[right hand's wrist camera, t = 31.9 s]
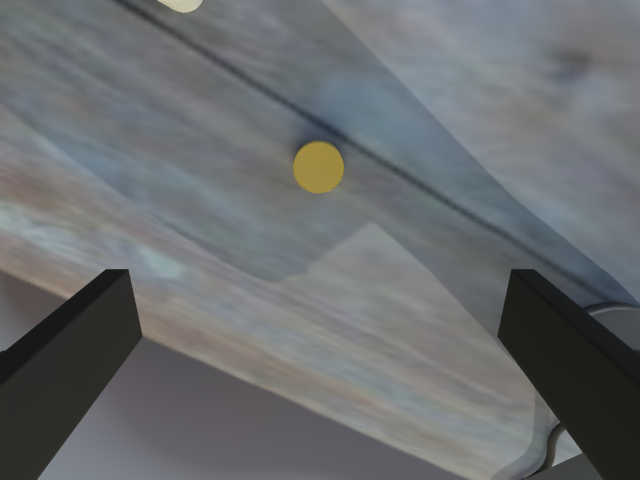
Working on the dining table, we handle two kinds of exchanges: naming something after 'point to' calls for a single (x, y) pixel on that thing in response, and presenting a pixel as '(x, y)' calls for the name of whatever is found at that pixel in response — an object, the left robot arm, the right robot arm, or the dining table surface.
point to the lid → (318, 166)
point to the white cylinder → (182, 4)
